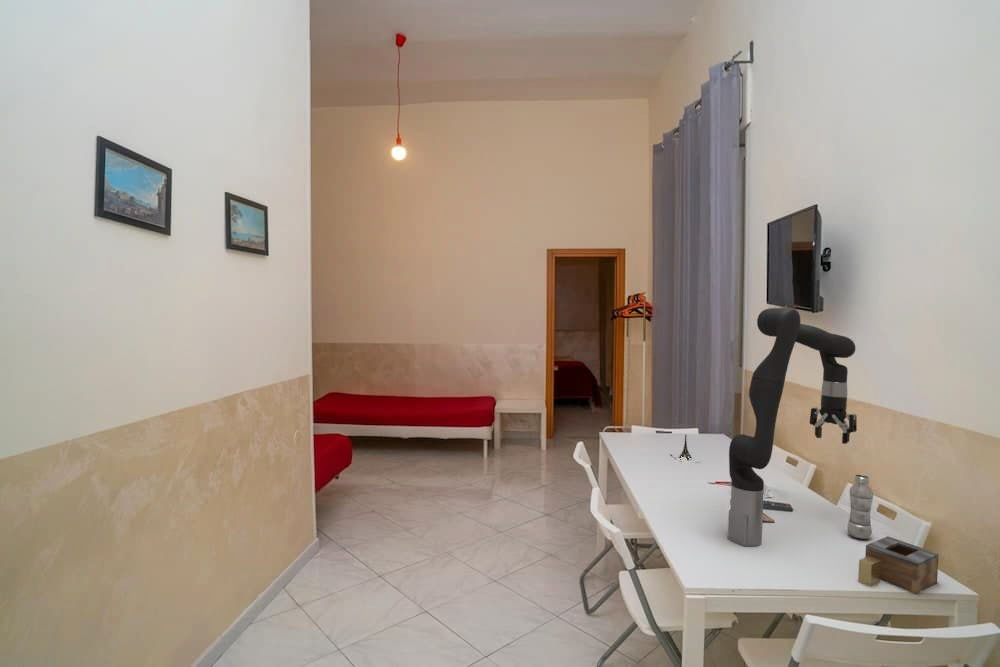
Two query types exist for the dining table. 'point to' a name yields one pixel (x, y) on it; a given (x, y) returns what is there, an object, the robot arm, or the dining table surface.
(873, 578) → the block
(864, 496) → the plastic bottle
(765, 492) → the teacup and saucer
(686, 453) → the eiffel tower figurine
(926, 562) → the box
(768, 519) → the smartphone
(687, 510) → the dining table surface
